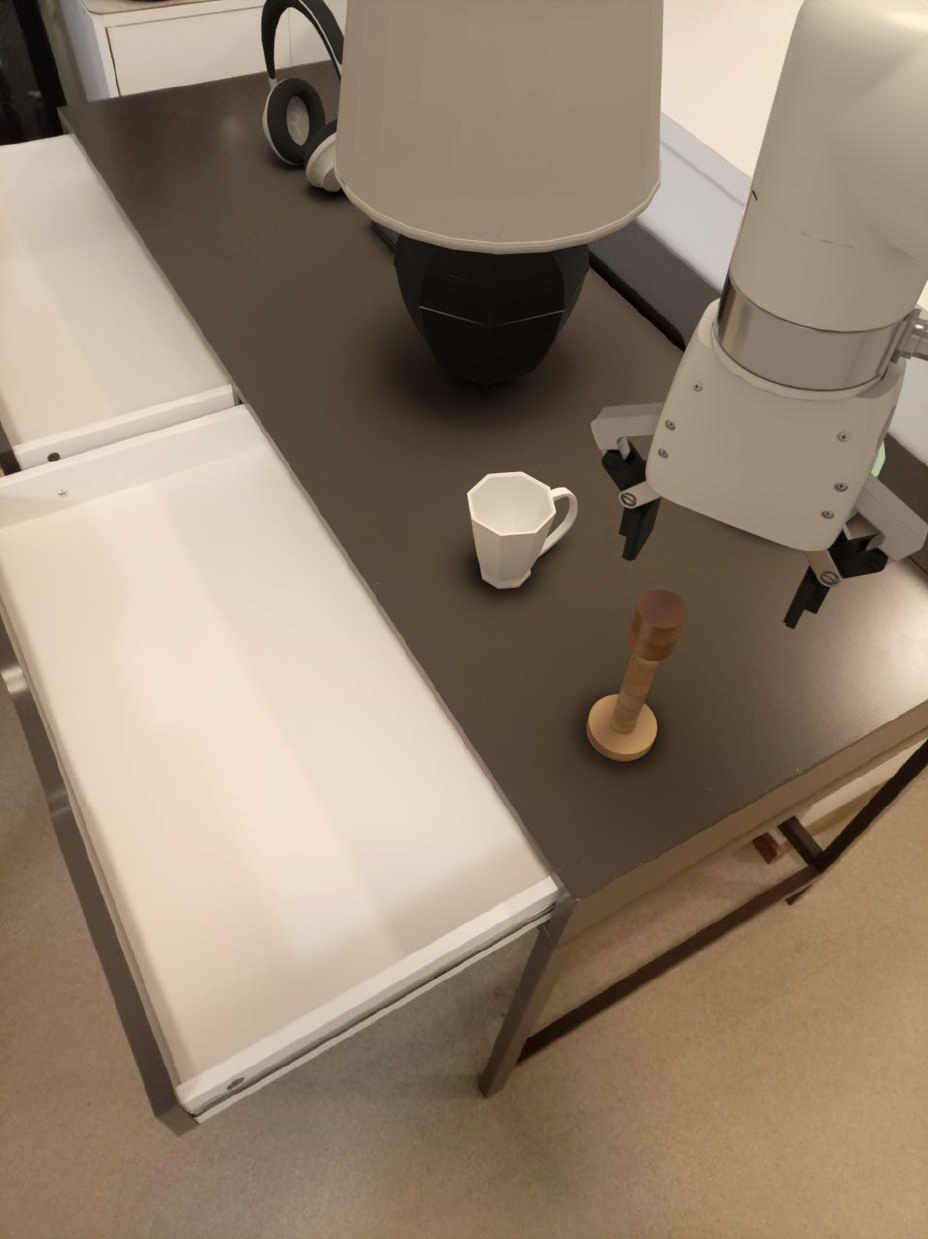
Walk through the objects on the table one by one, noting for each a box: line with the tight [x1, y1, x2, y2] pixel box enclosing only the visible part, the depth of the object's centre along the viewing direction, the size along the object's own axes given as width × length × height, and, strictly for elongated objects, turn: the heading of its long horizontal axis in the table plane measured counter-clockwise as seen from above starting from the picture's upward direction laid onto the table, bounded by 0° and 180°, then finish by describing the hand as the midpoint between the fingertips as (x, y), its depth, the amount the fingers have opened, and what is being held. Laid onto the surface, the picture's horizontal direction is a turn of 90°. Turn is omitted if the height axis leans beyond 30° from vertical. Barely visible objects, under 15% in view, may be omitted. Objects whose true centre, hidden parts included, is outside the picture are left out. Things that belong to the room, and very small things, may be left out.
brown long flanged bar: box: [585, 588, 689, 762], centre depth 60 cm, size 5×5×15 cm
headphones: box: [260, 0, 345, 193], centre depth 103 cm, size 19×8×20 cm, turn 38°
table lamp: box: [333, 0, 665, 386], centre depth 74 cm, size 27×27×40 cm
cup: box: [466, 471, 579, 590], centre depth 72 cm, size 7×10×8 cm
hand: (714, 576), depth 51 cm, fingers open, 9 cm apart
